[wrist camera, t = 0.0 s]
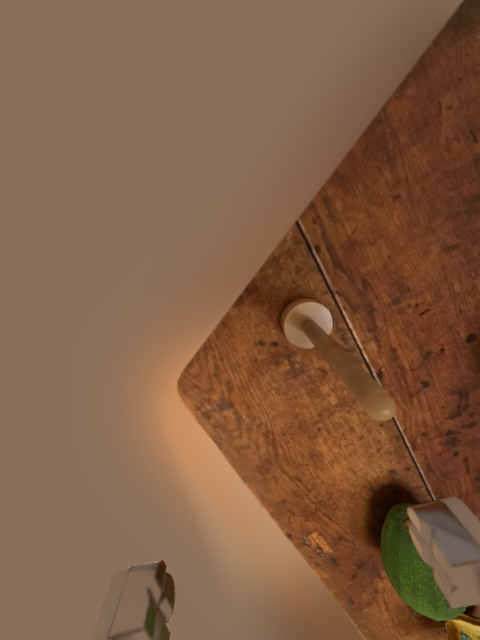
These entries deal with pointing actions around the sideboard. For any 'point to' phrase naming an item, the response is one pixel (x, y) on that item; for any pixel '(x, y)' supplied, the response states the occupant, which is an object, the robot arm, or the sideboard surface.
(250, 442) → the sideboard surface
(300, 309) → the wooden dowel stand
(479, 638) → the shrine
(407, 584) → the fruit
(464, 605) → the robot arm
